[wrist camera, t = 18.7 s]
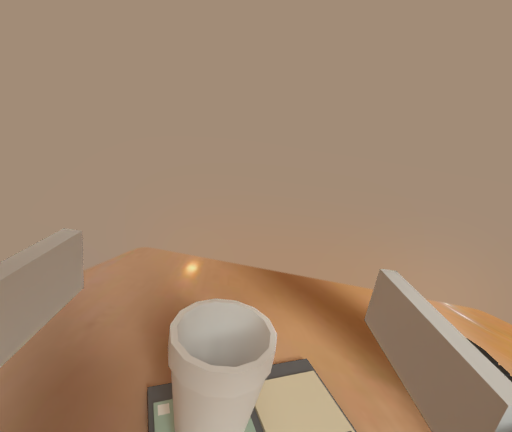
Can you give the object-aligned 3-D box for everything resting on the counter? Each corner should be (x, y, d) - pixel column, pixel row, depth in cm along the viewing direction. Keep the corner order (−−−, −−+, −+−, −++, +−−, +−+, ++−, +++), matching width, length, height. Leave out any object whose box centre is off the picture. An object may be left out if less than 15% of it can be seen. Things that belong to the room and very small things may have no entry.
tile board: (305, 362, 42) (307, 356, 42) (381, 476, 29) (384, 468, 29) (147, 392, 33) (148, 384, 33) (152, 574, 20) (153, 564, 20)
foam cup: (265, 480, 26) (294, 366, 22) (158, 508, 23) (172, 381, 19) (239, 389, 34) (257, 297, 31) (159, 401, 31) (169, 300, 28)
